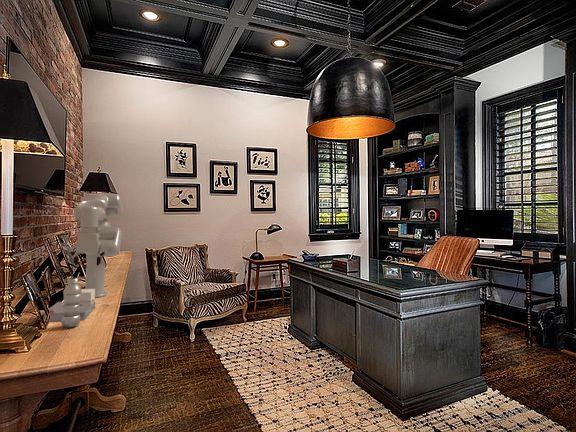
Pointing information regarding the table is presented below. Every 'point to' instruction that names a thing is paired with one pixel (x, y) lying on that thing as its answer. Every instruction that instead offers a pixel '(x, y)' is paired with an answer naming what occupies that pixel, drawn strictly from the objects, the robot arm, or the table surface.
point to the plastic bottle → (71, 303)
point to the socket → (58, 310)
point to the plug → (87, 295)
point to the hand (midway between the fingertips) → (87, 265)
